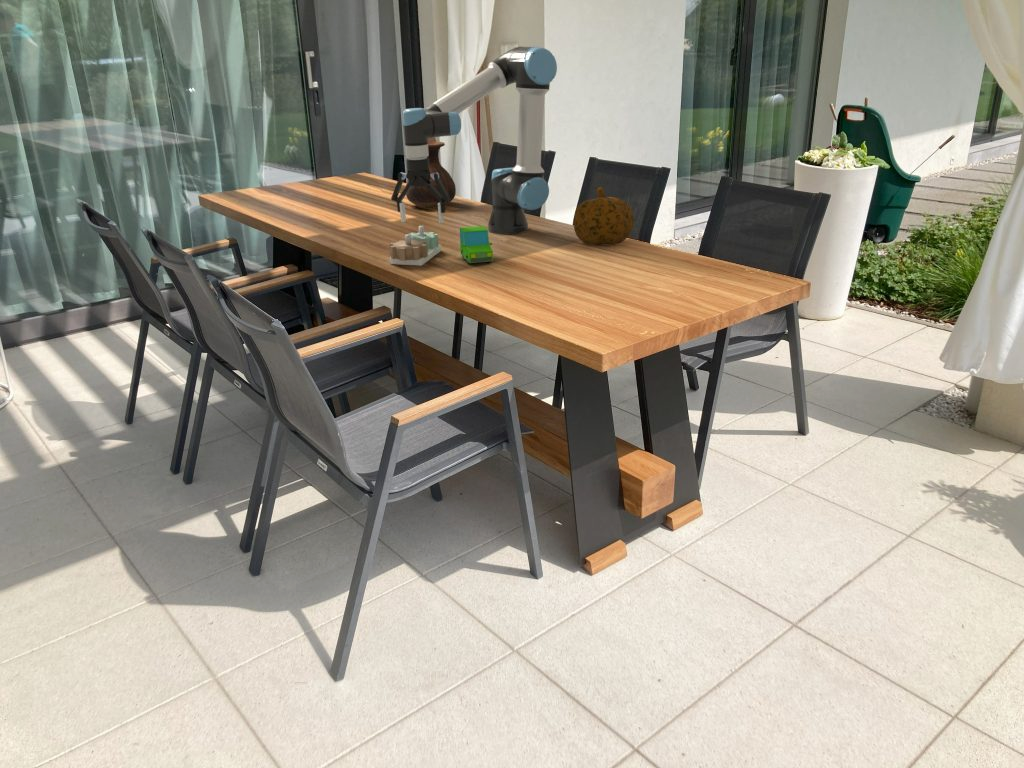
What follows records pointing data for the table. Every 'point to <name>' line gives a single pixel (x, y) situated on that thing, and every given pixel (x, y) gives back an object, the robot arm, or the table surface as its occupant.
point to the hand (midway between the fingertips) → (422, 221)
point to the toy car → (475, 245)
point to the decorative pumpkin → (603, 220)
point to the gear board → (412, 251)
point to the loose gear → (426, 239)
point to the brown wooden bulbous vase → (422, 194)
